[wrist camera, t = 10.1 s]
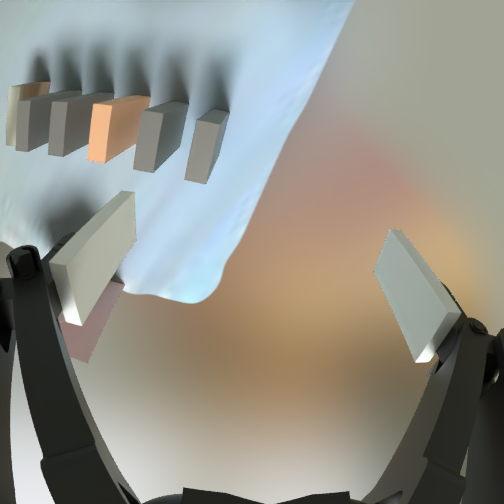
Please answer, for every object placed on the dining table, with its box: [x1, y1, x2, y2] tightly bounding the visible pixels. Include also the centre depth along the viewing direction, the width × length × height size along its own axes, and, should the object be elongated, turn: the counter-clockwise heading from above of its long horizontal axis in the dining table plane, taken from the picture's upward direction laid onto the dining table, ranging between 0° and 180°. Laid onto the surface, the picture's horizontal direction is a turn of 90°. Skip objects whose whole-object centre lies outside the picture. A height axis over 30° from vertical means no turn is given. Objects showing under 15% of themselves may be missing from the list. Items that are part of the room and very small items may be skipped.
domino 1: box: [16, 90, 82, 152], centre depth 24 cm, size 2×5×10 cm, turn 165°
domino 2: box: [48, 92, 114, 157], centre depth 25 cm, size 2×5×10 cm, turn 165°
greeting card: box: [58, 280, 125, 363], centre depth 33 cm, size 11×7×15 cm, turn 73°
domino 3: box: [133, 101, 189, 173], centre depth 26 cm, size 2×5×10 cm, turn 165°
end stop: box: [6, 82, 50, 146], centre depth 25 cm, size 2×7×6 cm, turn 165°
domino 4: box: [184, 109, 230, 184], centre depth 27 cm, size 2×5×10 cm, turn 165°
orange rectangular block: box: [87, 95, 151, 163], centre depth 26 cm, size 2×5×10 cm, turn 165°
